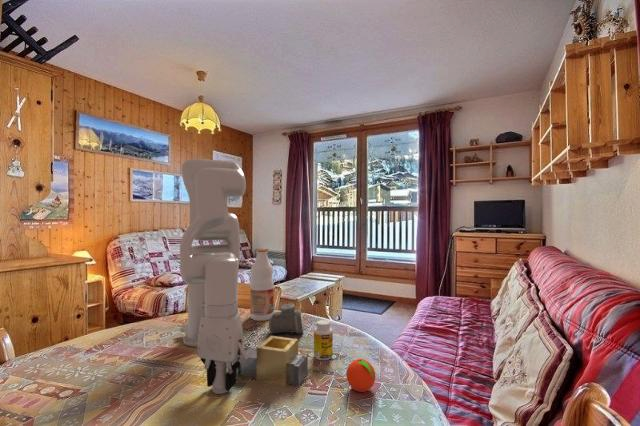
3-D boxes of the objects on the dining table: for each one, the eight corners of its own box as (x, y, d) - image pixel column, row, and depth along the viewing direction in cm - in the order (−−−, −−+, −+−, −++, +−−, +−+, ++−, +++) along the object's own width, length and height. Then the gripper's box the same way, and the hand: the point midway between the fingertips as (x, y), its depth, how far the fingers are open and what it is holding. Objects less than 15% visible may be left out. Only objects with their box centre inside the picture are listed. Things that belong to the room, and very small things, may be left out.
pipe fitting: (304, 326, 115) (301, 299, 114) (304, 337, 107) (300, 308, 106) (272, 330, 115) (268, 303, 114) (269, 341, 107) (265, 312, 106)
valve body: (232, 377, 80) (232, 344, 80) (248, 362, 88) (248, 332, 88) (297, 388, 75) (297, 353, 75) (308, 372, 83) (308, 340, 83)
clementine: (384, 394, 73) (384, 363, 73) (362, 404, 69) (362, 371, 69) (362, 379, 79) (362, 351, 79) (340, 387, 76) (340, 357, 76)
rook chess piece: (214, 384, 77) (214, 352, 77) (232, 384, 77) (232, 351, 77) (209, 395, 72) (209, 361, 72) (229, 394, 72) (229, 360, 72)
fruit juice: (247, 315, 129) (247, 248, 129) (269, 312, 133) (269, 246, 133) (254, 322, 120) (253, 250, 121) (277, 319, 125) (277, 249, 125)
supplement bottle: (320, 363, 88) (320, 326, 88) (310, 355, 93) (310, 321, 93) (336, 358, 91) (336, 322, 91) (325, 351, 96) (325, 317, 96)
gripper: (181, 310, 73) (181, 387, 73) (244, 317, 68) (244, 401, 68) (202, 301, 81) (202, 372, 81) (260, 307, 75) (260, 383, 76)
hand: (221, 384), depth 75 cm, fingers closed on rook chess piece, 4 cm apart
